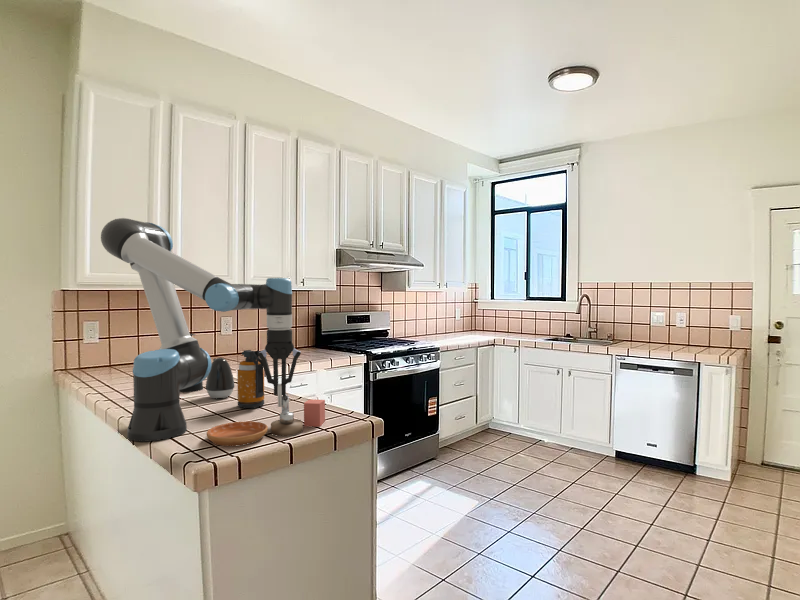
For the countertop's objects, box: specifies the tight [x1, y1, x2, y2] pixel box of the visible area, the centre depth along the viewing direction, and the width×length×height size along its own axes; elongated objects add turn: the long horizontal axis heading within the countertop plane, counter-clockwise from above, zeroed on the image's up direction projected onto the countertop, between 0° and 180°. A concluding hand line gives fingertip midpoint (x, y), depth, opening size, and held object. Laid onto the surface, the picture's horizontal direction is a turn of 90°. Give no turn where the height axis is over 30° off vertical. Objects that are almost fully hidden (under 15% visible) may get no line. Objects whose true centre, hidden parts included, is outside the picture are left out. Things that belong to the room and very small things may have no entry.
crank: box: [279, 393, 295, 424], centre depth 141 cm, size 12×4×6 cm, turn 16°
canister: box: [236, 349, 265, 409], centre depth 166 cm, size 9×11×20 cm
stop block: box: [303, 398, 326, 428], centre depth 145 cm, size 5×5×7 cm
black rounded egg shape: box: [205, 357, 235, 400], centre depth 181 cm, size 10×10×15 cm
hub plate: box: [270, 418, 304, 437], centre depth 137 cm, size 9×9×3 cm
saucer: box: [206, 420, 269, 447], centre depth 131 cm, size 16×16×3 cm
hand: (280, 405), depth 145 cm, fingers closed
